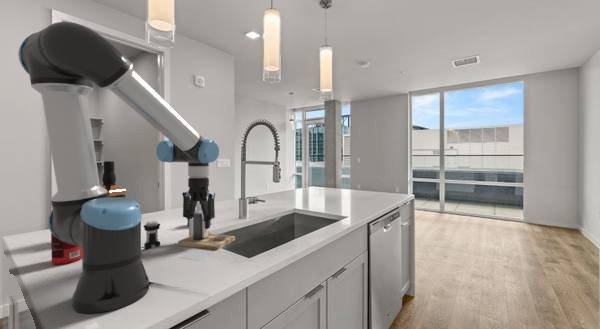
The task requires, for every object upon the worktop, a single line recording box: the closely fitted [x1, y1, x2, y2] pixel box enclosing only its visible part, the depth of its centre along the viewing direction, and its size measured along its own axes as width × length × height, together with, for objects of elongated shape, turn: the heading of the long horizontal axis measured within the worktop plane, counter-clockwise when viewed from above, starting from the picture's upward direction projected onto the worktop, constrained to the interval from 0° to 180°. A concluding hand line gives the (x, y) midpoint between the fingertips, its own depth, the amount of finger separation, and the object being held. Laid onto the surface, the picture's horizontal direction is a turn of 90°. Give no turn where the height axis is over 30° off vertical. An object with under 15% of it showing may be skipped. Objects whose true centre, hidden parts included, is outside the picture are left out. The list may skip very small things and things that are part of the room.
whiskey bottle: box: [100, 160, 127, 198], centre depth 112 cm, size 10×10×32 cm
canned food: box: [50, 232, 82, 266], centre depth 86 cm, size 8×8×11 cm
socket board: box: [177, 232, 236, 251], centre depth 102 cm, size 12×17×3 cm
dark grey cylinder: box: [193, 212, 204, 241], centre depth 103 cm, size 4×4×12 cm
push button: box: [141, 220, 161, 252], centre depth 96 cm, size 7×5×10 cm
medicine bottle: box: [194, 200, 213, 225], centre depth 134 cm, size 7×7×12 cm
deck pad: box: [178, 249, 214, 261], centre depth 89 cm, size 8×8×1 cm
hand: (198, 235), depth 103 cm, fingers open, 5 cm apart
